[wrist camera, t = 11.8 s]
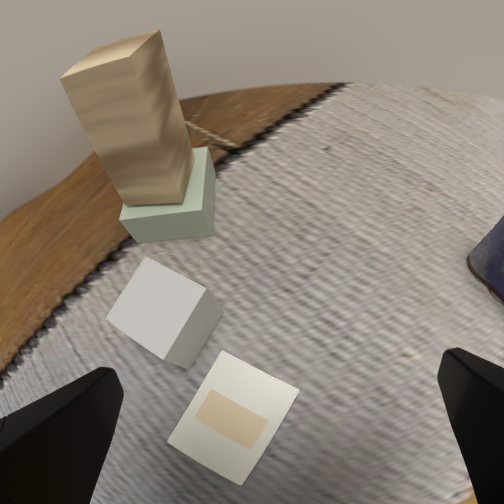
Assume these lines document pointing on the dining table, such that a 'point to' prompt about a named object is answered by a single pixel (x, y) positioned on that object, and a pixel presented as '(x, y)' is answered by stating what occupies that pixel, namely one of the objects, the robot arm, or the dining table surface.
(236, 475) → the card
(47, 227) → the dining table surface
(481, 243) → the flask
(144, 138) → the maple pillar
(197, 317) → the grey cube
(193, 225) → the sage base block
